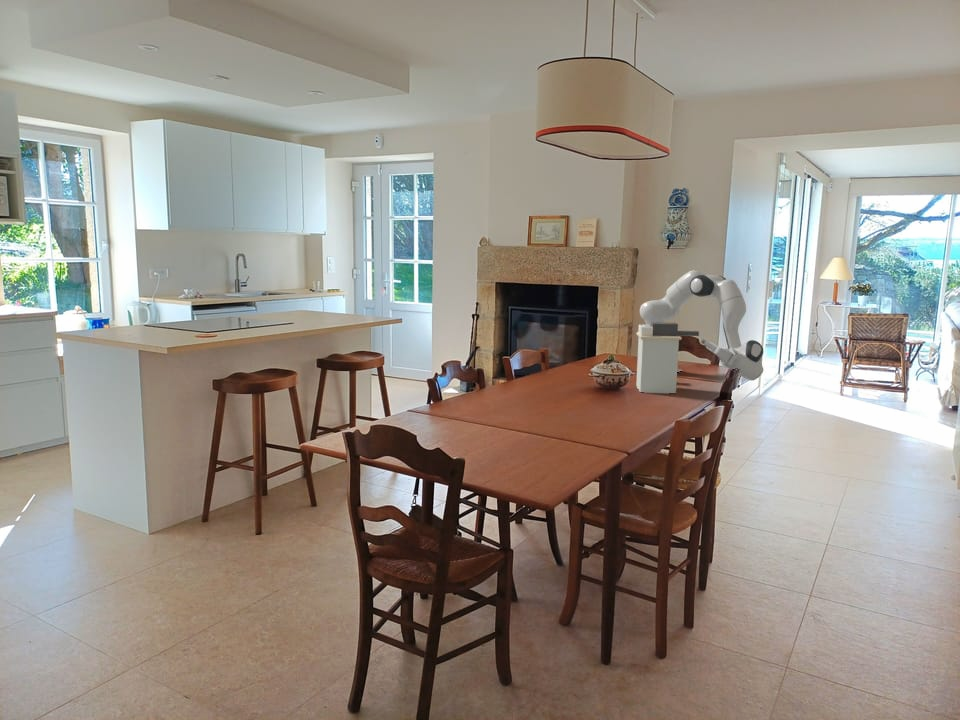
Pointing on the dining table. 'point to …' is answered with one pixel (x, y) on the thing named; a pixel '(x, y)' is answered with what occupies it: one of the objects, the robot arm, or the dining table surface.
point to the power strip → (645, 330)
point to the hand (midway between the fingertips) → (703, 342)
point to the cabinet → (657, 363)
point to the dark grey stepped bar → (670, 330)
